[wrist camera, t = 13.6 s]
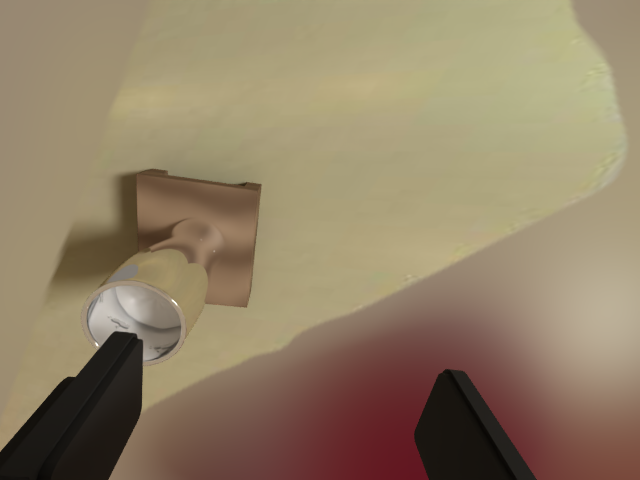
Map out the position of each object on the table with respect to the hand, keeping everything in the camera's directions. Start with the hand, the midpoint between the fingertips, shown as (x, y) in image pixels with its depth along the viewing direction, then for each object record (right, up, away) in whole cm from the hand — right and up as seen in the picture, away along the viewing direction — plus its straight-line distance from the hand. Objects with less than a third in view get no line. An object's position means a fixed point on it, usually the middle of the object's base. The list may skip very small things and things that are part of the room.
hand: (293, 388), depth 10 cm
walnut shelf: (-13, +5, +29) cm, 32 cm away
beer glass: (-12, +4, +25) cm, 29 cm away
